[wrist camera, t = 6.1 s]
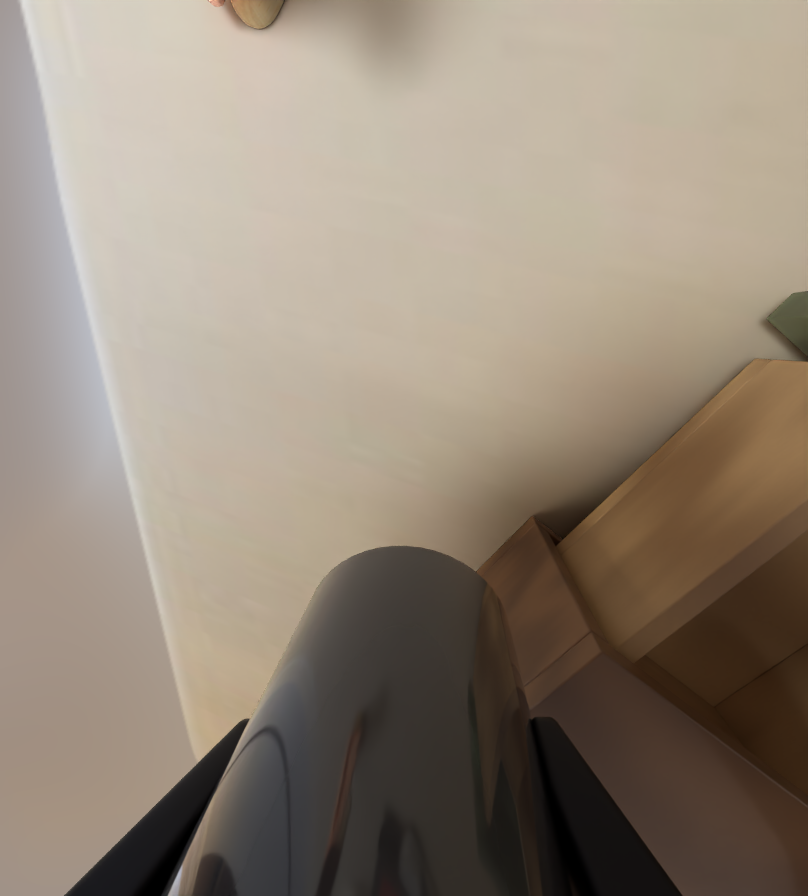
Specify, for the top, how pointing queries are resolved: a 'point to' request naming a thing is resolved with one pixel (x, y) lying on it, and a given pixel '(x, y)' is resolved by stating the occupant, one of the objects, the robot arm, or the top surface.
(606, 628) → the drawer
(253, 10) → the grandmother figurine
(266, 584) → the top surface
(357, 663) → the cup
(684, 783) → the cabinet
